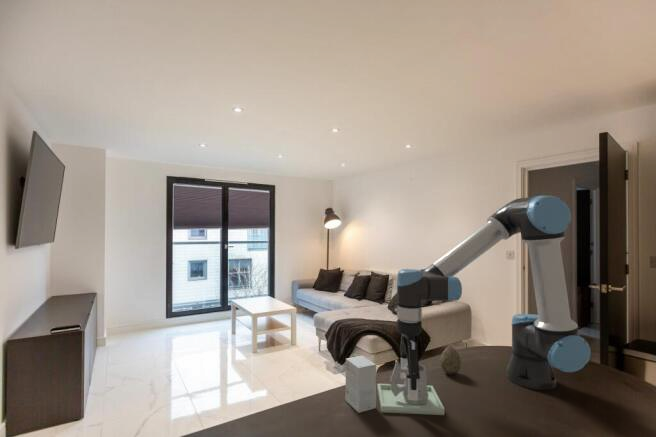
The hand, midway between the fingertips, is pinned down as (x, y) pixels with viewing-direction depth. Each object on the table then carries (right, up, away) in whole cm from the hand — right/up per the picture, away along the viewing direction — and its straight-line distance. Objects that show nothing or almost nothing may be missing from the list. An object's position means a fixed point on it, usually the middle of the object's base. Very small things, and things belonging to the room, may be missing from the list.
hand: (408, 388), depth 105 cm
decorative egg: (+20, -5, +20) cm, 29 cm away
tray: (0, -4, 0) cm, 4 cm away
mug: (0, -4, 0) cm, 4 cm away
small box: (-15, -4, -2) cm, 16 cm away
